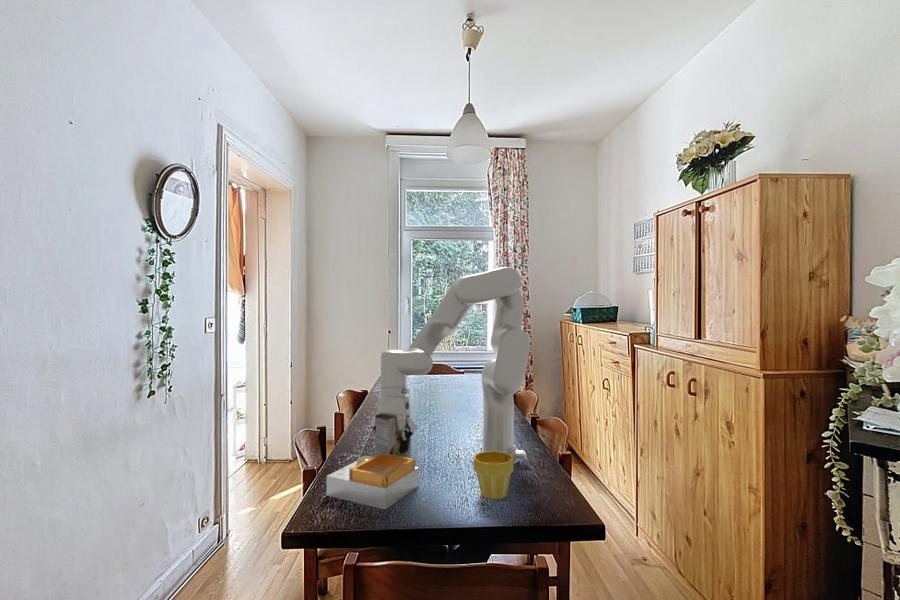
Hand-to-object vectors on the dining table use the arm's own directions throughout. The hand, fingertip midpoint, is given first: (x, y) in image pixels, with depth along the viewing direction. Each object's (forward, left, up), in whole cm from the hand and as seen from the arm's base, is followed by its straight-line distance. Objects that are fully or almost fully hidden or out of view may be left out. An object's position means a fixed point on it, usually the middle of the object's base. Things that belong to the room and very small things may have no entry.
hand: (393, 449), depth 142 cm
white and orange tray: (-5, +17, -5) cm, 18 cm away
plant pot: (-34, +5, -5) cm, 35 cm away
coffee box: (0, 0, -5) cm, 5 cm away
